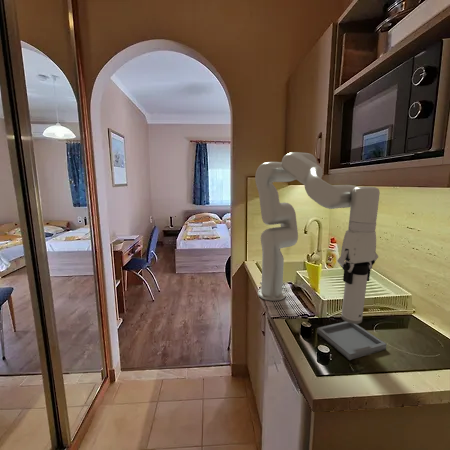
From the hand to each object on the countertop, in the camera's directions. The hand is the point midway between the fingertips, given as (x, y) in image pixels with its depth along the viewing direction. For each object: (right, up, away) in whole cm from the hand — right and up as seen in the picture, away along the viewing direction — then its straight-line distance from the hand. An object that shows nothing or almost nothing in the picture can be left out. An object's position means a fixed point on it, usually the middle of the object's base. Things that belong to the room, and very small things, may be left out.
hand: (356, 280), depth 88 cm
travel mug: (0, -14, +3) cm, 14 cm away
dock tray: (0, -21, +4) cm, 22 cm away
